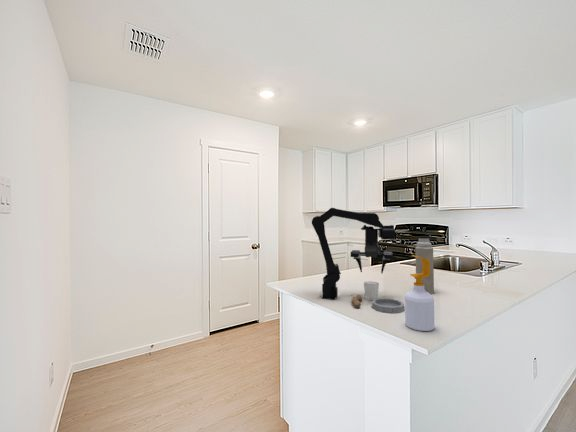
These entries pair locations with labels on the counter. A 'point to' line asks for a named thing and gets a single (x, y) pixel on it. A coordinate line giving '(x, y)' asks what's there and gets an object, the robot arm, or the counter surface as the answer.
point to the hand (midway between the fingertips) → (371, 272)
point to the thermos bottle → (426, 252)
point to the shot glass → (371, 290)
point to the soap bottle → (420, 302)
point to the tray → (388, 305)
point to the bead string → (356, 301)
